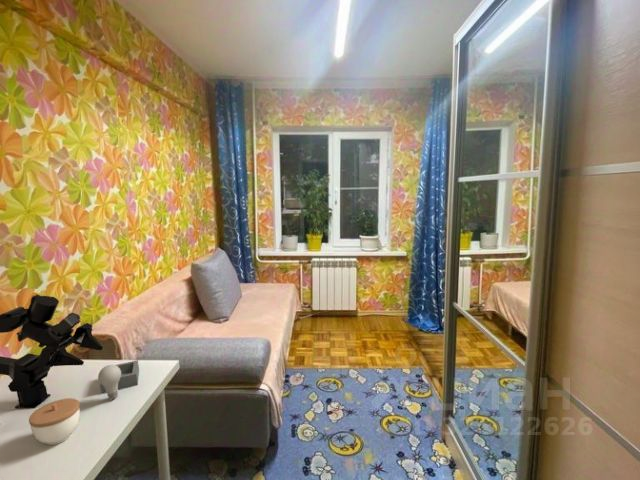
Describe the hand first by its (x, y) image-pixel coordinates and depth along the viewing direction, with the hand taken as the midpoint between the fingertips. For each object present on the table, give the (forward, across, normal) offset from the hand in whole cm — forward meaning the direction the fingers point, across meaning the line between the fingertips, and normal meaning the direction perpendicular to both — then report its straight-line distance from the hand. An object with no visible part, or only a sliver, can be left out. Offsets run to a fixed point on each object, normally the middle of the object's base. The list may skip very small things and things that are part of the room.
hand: (93, 355), depth 109 cm
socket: (+8, +10, +12) cm, 18 cm away
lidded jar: (+7, -16, +13) cm, 22 cm away
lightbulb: (+11, 0, +11) cm, 15 cm away
